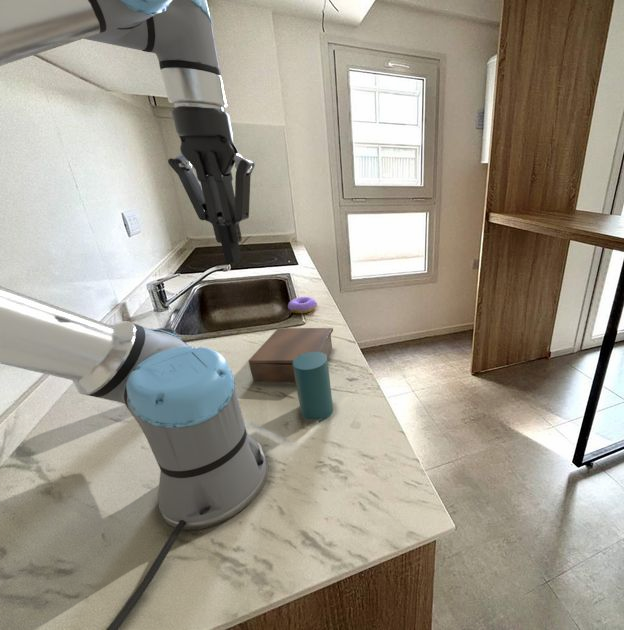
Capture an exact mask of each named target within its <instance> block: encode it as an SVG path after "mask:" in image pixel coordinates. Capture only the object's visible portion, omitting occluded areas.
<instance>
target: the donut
mask: <svg viewBox="0 0 624 630" xmlns="http://www.w3.org/2000/svg"><path fill="white" fill-rule="evenodd" d="M317 307H318V302H317V299H315V298H313V297H310V296H300V297H296V298H293V299H292V300H290V301H289V302H288V304H287V309H288V310H289V311H290V312H291V313H294V314H306V313H310V312H312V311H314V310H315V309H316V308H317Z"/></svg>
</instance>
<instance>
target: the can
mask: <svg viewBox="0 0 624 630" xmlns="http://www.w3.org/2000/svg"><path fill="white" fill-rule="evenodd" d="M293 369H294V375H295V381H296V383H295V386H296V392H297V397H298V403H299V404H298V405H299V410H300V414H301V416H302V417H303V418H304V419H305V420H312V421H316V420H318V421H317V423H320V422H323V421H325V420H327V419H328V418H330V417H331V415H332V414H333V413H334V404H333V403H334V402H333V396H332V394H333V393H332V387H331V386H332V385H331V377H330V370H329V361H328V357H327V356H326V355H325V354H323V353H320V352H308V353H304V354H301V355H299V356H298V357H296V358H295V359H294V360H293Z"/></svg>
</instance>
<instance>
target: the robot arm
mask: <svg viewBox="0 0 624 630" xmlns="http://www.w3.org/2000/svg"><path fill="white" fill-rule="evenodd" d="M209 9H210V8H209V5H208V1H207V0H0V67H2V66H5V65H8V64H10V63H15V62H17V61H20V60H23V59H26V58H29V57H32V56H35V55H38V54H42V53H44V52H47V51H50V50H53V49H57V48H59V47H63V46H66V45H68V44H72V43H74V42H78V41H80V40H81V41H82V40H86V41H87V40H88V41H93V42H96V43H103V44H108V45H113V46H117V47H122V48H127V49H132V50H137V51H142V52H146V53H151V54H155V55H156V57H157V60H158V65H159V69H160V72H161V76H162V80H163V85H164V90H165V92H166V93H165V94H166V97H167V101H168V102H169V103H170V104H172V105H173V106H174V107H172V109H171V111H170V112H171V116H172V120H173V123H174V129H175V132H176V135H177V136H178V137H179V138H180V146H179V151H180V153H179V154H178V155H177V156H176V157H174V158H170V157H169V158H168V160H167V163H168V165H169V166H170V167H171V169H173V171H174V172H175V173H176V175H177V176H178V178H179V180H180V182H181V184H182V187H183V189H184V190H185V192H186V194H187V197H188V198H189V201H190V203H191V205H192V207H193V209H194V211H195V213H196V215H197V217H198V219H199V220H200V221H206V222H209V223H210V224H211V225H212V228H213V232H214V236H215V240H216V242H217V244H221V249H222V252H223V253H222V254H223V257H224V260H225V261H224V262H225V263H227V264H228V263H229V264H234V263H237V262H239V261H240V260H242V253H241V249H240V244H239V243H242V240H243V237H242V232H241V227H240V223H241V222H242V221H246V220H248V219H249V217H250V201H251V198H250V197H251V176H252V173H253V171H254V168H255V165H256V164H255V162H254V160H252V159H247V158H246V157H244V156H242V155H241V154H240V153H239V151H238V150H239V149H238V148H237V147H236V145H235V143H234V134H233V128H232V124H231V123H232V122H231V118H230V114H228V112H227V111H224V110H225V109H226V108H227V107H228V104H227V99H226V94H225V89H224V83H223V78H222V73H221V67H220V63H219V58H218V52H217V47H216V41H215V35H214V31H213V19H212V17H211V14H210V10H209ZM192 167H193V168H194V170H195V171H194V170H193V168H192ZM233 168H235V169H236V172H235V177H234V178H233V173H232V170H233ZM234 179H235V181H234V182H235V185H233V180H234ZM0 365H5V366H9V367H13V368H17V369H22V370H26V371H31V372H34V373H39V374H43V375H47V376H52V377H57V378H60V379H65V380H70V381H72V382H73V384H74V387H75V389H76V391H77V393H79V394H81V395H84V396H88V397H94V398H98V399H103V400H108V401H112V402H117V403H121V404H124V405H125V406H126V408H127V410H128V411H129V413H130V414H131V415H132V417H133V418H134V420H135V422H137V424H138V425H139V427H140V429H141V430H142V433H143V435H144V436H145V438H146V440H147V443H148V445H149V447H150V449H151V452H152V454H153V456H154V459H155V461H156V463H157V465H158V468H159V470H160V473H159V482H158V483H159V485H158V494H157V498H158V499H157V501H158V509H159V511H160V513H161V515H162V517H163V519H164V521H165V522H166V523H167V524H168V525H169V526H171V527H173V528H174V529H173V531H172V533H171V534H170V536H169V537H168V539H167V540H166V542H165V544H164V545H163V547H162V548H161V550H160V552H159V554H158V555H157V557H156V558H155V560H154V562H153V564H152V565H151V567H150V568H149V570H148V572H147V573H146V574H145V576H144V578H143V579H142V581H141V582H140V584H139V586H138V587H137V589H136V590H135V591H134V593H133V594H132V595H131V597H130V598H129V600H128V601H127V603H126V604H125V605H124V607H123V608H122V609H121V611H120V612H119V613H118V615H117V616H116V617H115V619H114V620H113V621H112V623H110V625H109V626H108V627H107V629H106V630H119V628H120V627H121V625H122V624H123V623H124V621H125V620H126V619H127V617H128V616H129V614H130V613H131V612H132V610H133V609H134V608H135V606H136V604H137V603H138V602H139V601H140V599H141V597H142V596H143V594H144V593H145V591H146V590H147V589H148V587H149V585H150V584H151V582H152V581H153V579H154V578H155V576H156V575H157V573H158V571H159V569H160V568H161V565H162V564H163V562H164V560H165V559H166V557H167V555H168V554H169V552H170V550H171V549H172V547H173V546H174V544H175V542H176V540H177V539H178V537H179V535H180V534H181V532H182V531H183V530H184V531H196V530H197V531H198V530H203V529H207V528H210V527H213V526H216V525H219V524H220V523H223V522H225V521H227V520H229V519H231V518H233V517H234V516H236V515H237V514H238V513H240V512H241V511H243V510H244V509H245V508H247V506H249V505H250V504H251V503H252V502H253V501H254V500H255V498H256V497H257V496H258V495H259V493H260V492H261V491H262V490H263V488H264V485H265V483H266V480H267V479H268V475H269V465H268V460H267V456H266V454H265V452H264V450H263V448H262V447H263V446H262V445H261V444H260V443H259V442H256V441H255V439H253V437H252V436H251V435H250V434H249V433H248V432H247V428H246V424H245V421H244V417H243V413H242V409H241V406H240V405H241V404H240V401H239V398H238V394H237V390H236V386H235V377H234V374H233V372H232V370H231V368H230V367H229V364H228V361H227V360H226V359H225V357H224V356H223V355H222V354H221V353H219V352H217V350H214V349H211V348H208V347H203V346H199V347H197V348H196V347H195V346H192V345H191V346H190V345H189V344H188V343H187V342H186V341H184V340H183V339H182V338H181V337H179V336H177V334H176V335H174V334H172V333H169V332H166V331H162V330H158V328H148V327H144V326H142V325H139V324H137V323H134V322H131V321H128V320H124V321H120V322H116V323H113V324H107V323H104V322H101V321H99V320H96V319H94V318H91V317H88V316H85V315H82V314H79V313H77V312H74V311H71V310H69V309H66V308H63V307H60V306H58V305H56V304H55V305H54V304H53V303H49V302H46V301H44V300H41V299H38V298H35V297H33V296H30V295H27V294H25V293H22V292H20V291H16V290H13V289H11V288H9V287H5V286H3V285H0Z"/></svg>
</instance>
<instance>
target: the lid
mask: <svg viewBox="0 0 624 630" xmlns="http://www.w3.org/2000/svg"><path fill="white" fill-rule="evenodd" d="M333 331H334V328H333V327H283V328H282V327H278V328H277V329H276V330H274V332H273V333H272V334H271V335H270V336H269V337H268V338H267V340H266V341H265V342H264V343H262V345H261V346H260V347H259V348H258V349H257V351H256V352H254V354H253V355H252V356H251V357H250V358H249V359H248V364H249V363H293V360H294V359H295V358H296V357H298V356H299V355H301V354H304V353H308V352H321V350H322V349H323V347H324V345H325V344H326V342H327V340H328V338H329V337H330V335H331V336H332V333H333Z"/></svg>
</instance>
